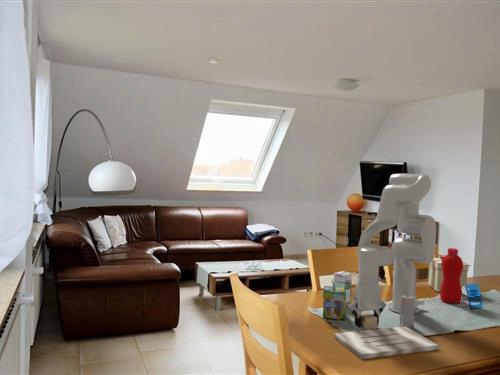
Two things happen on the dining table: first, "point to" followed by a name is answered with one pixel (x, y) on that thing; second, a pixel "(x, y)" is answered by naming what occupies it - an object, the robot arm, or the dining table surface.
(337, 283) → the syrup box
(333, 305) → the chalk box
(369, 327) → the block
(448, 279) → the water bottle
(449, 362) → the dining table surface
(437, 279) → the gift box
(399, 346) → the board
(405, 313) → the energy drink
